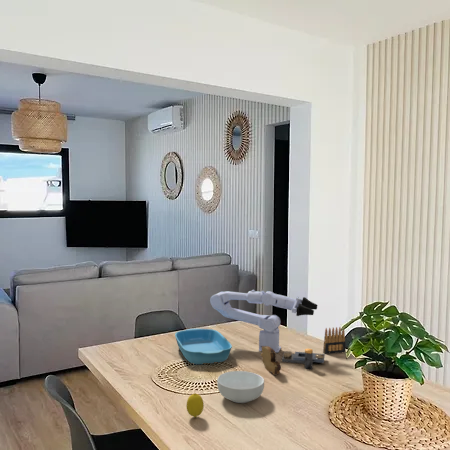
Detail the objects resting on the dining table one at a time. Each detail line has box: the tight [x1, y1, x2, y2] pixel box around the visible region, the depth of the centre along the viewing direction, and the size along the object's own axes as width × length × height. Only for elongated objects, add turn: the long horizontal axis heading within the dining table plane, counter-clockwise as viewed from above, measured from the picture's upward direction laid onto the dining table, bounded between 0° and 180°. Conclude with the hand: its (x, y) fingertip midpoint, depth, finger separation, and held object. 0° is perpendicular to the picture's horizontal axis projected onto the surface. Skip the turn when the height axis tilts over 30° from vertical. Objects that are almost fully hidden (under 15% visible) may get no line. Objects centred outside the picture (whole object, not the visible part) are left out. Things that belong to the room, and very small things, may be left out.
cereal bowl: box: [216, 370, 265, 404], centre depth 160 cm, size 17×17×7 cm
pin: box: [304, 348, 314, 371], centre depth 189 cm, size 3×3×8 cm
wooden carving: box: [260, 346, 282, 376], centre depth 187 cm, size 16×5×10 cm, turn 21°
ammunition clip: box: [322, 326, 347, 355], centre depth 210 cm, size 11×2×12 cm, turn 105°
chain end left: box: [281, 350, 305, 365], centre depth 200 cm, size 13×8×3 cm, turn 75°
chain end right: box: [293, 351, 326, 365], centre depth 198 cm, size 13×8×3 cm, turn 75°
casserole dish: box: [174, 327, 233, 365], centre depth 208 cm, size 37×22×7 cm, turn 17°
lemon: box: [186, 392, 204, 419], centre depth 146 cm, size 6×6×8 cm
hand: (315, 309), depth 205 cm, fingers open, 7 cm apart
